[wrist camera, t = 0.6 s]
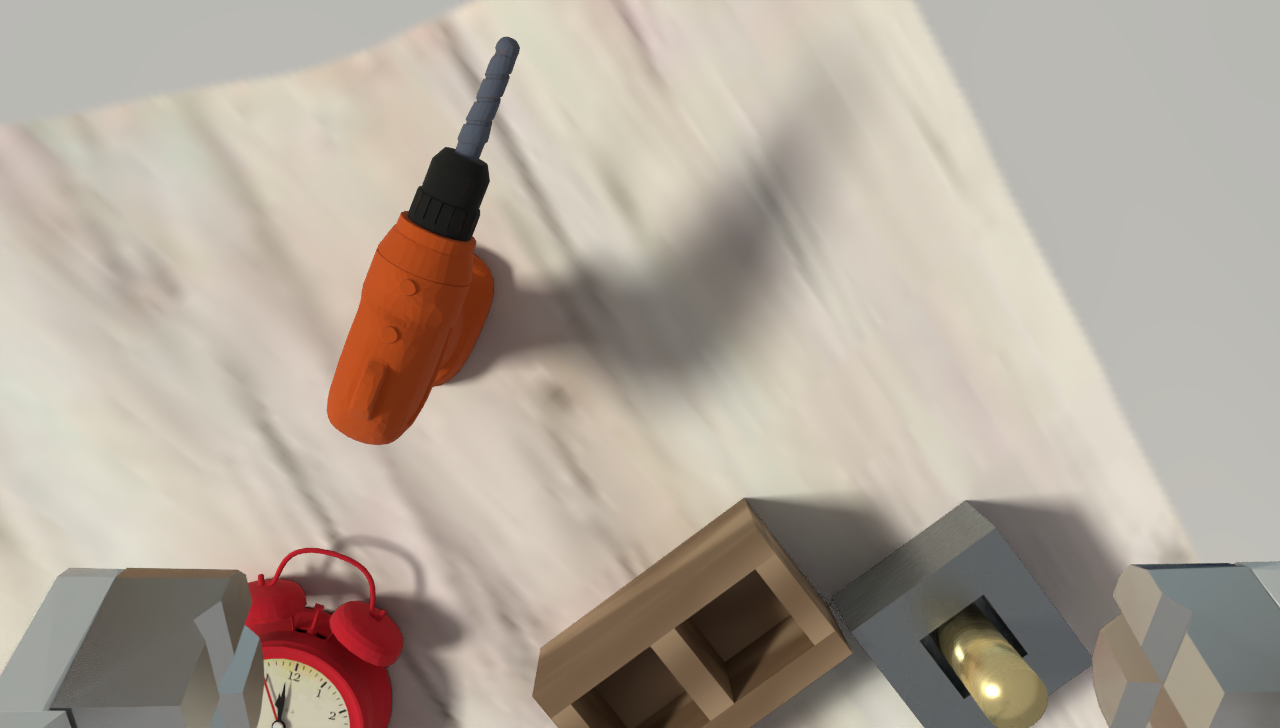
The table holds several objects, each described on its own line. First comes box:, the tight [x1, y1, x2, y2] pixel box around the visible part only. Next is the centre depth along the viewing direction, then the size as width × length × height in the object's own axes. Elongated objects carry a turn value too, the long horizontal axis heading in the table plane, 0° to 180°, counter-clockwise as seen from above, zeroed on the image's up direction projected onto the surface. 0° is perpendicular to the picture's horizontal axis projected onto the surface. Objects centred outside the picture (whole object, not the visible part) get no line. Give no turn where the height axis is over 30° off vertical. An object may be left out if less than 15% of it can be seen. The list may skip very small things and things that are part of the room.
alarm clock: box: [245, 548, 403, 728], centre depth 59 cm, size 10×6×15 cm
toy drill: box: [327, 37, 520, 445], centre depth 50 cm, size 5×19×15 cm, turn 157°
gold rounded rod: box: [929, 602, 1048, 728], centre depth 56 cm, size 3×3×10 cm
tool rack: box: [532, 498, 853, 728], centre depth 59 cm, size 8×14×6 cm, turn 127°
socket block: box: [832, 501, 1093, 728], centre depth 59 cm, size 9×9×5 cm
